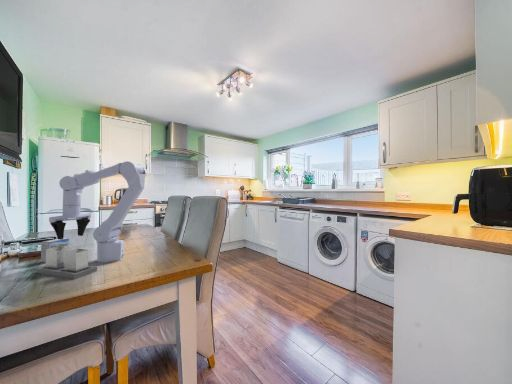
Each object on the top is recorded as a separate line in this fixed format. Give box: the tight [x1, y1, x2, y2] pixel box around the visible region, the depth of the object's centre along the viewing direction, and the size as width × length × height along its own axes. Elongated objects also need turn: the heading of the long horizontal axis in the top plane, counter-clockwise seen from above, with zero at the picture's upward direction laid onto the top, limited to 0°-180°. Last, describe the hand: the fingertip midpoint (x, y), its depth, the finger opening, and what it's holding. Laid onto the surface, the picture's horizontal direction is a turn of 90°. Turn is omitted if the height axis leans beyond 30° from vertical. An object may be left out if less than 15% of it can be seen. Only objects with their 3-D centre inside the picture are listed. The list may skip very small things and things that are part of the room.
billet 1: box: [45, 247, 71, 270], centre depth 76 cm, size 6×4×8 cm
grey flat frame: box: [35, 265, 98, 280], centre depth 75 cm, size 18×7×2 cm, turn 75°
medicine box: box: [40, 237, 70, 263], centre depth 92 cm, size 8×4×9 cm, turn 168°
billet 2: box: [64, 248, 89, 273], centre depth 74 cm, size 6×4×8 cm
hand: (70, 237), depth 89 cm, fingers open, 7 cm apart
